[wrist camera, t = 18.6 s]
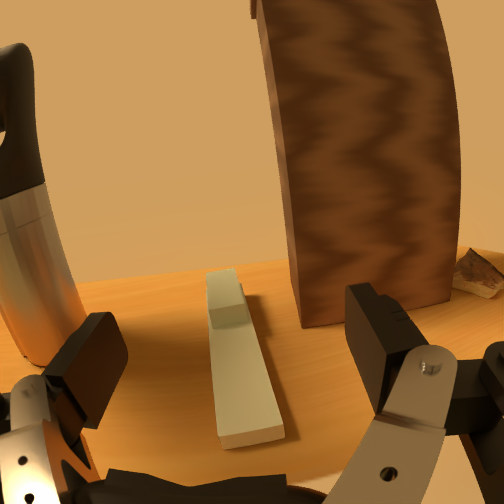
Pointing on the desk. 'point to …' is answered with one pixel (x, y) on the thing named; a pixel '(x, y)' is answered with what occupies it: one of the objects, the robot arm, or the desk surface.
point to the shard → (477, 276)
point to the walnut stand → (363, 149)
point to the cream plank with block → (238, 368)
